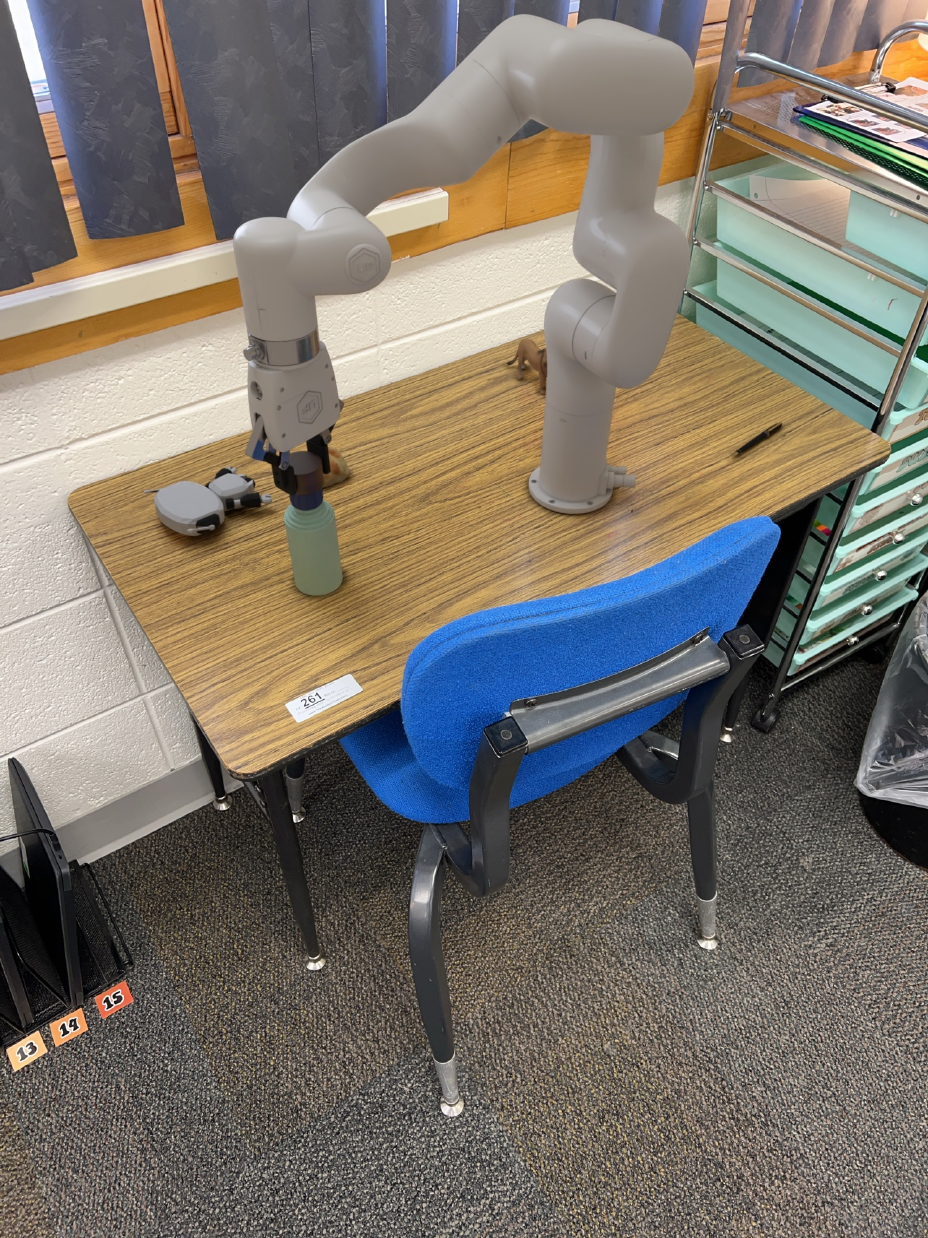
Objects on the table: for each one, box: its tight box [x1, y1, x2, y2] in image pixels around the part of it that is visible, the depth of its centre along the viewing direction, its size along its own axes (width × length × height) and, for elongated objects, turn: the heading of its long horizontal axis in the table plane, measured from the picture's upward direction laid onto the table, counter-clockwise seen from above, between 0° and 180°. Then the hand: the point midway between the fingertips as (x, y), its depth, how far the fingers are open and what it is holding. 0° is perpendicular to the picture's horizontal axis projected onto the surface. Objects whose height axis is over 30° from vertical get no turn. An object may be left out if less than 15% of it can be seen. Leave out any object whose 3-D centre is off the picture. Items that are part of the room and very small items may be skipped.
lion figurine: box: [505, 338, 547, 395], centre depth 157 cm, size 15×5×9 cm, turn 44°
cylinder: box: [289, 450, 324, 495], centre depth 111 cm, size 5×5×3 cm
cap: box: [288, 488, 324, 510], centre depth 113 cm, size 4×4×3 cm
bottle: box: [283, 499, 344, 597], centre depth 118 cm, size 6×6×16 cm
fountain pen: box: [731, 421, 783, 457], centre depth 147 cm, size 14×1×2 cm, turn 133°
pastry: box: [322, 446, 351, 489], centre depth 138 cm, size 9×7×4 cm
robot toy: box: [142, 466, 273, 537], centre depth 132 cm, size 12×4×15 cm
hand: (303, 478), depth 112 cm, fingers closed on cylinder, 4 cm apart
